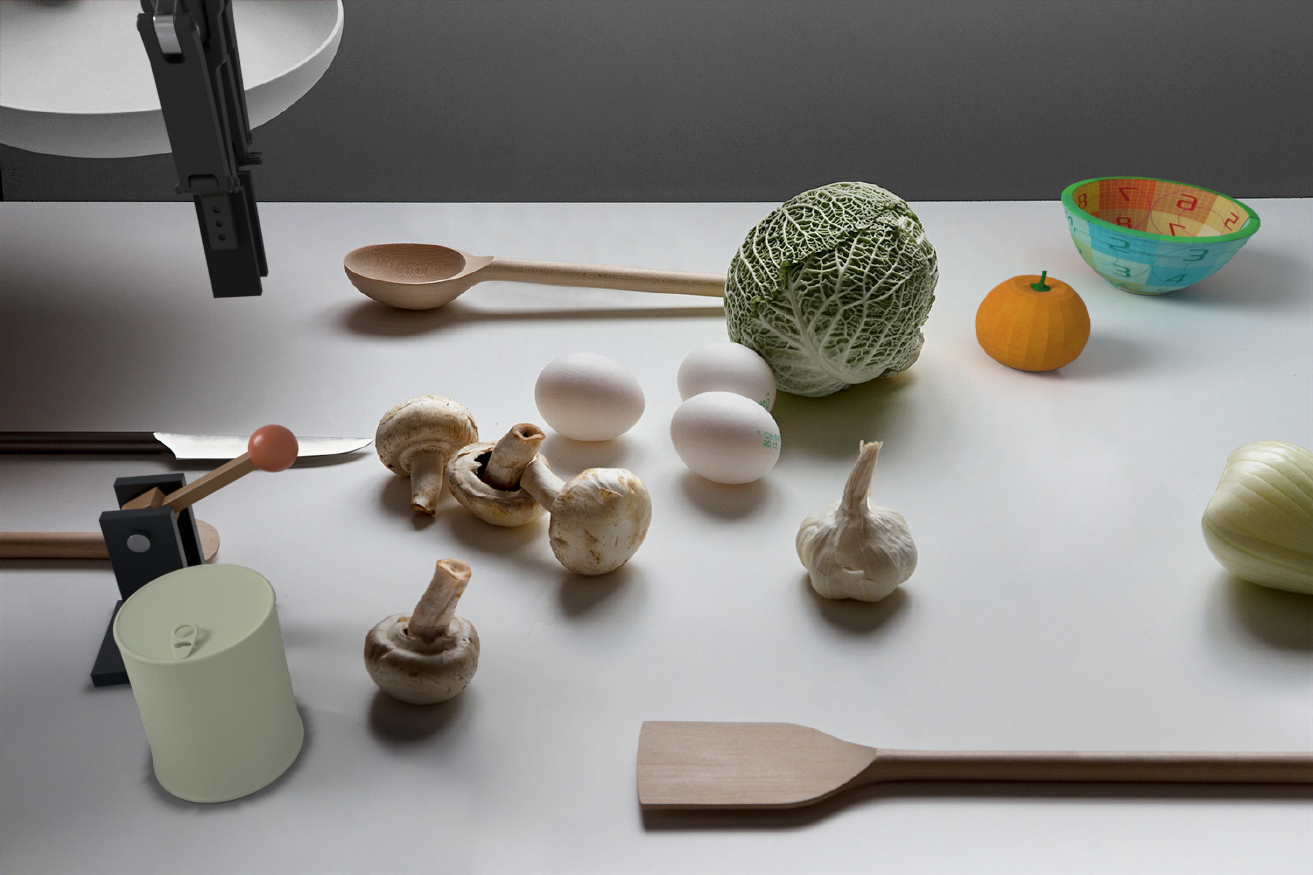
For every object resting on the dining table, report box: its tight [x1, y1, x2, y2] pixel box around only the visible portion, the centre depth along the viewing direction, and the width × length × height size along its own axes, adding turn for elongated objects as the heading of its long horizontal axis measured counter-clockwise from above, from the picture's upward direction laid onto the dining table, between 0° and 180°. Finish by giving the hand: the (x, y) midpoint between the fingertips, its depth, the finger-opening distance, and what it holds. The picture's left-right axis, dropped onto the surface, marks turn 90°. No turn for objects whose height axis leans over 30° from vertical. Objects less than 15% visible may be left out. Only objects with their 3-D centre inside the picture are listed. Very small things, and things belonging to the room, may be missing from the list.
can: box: [113, 563, 305, 804], centre depth 70 cm, size 9×9×12 cm
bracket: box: [90, 472, 207, 688], centre depth 78 cm, size 10×8×13 cm
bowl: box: [1060, 176, 1261, 296], centre depth 137 cm, size 22×22×10 cm
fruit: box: [974, 270, 1092, 372], centre depth 120 cm, size 12×12×10 cm
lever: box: [121, 423, 300, 522], centre depth 75 cm, size 13×3×3 cm, turn 99°
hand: (241, 284), depth 69 cm, fingers open, 2 cm apart
